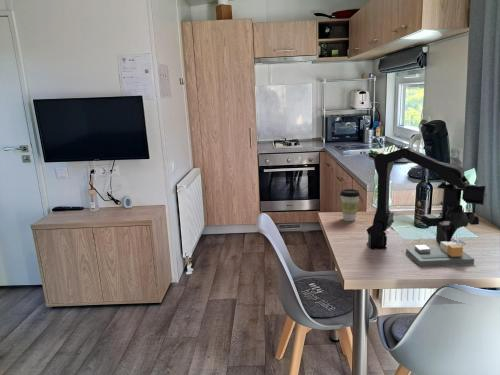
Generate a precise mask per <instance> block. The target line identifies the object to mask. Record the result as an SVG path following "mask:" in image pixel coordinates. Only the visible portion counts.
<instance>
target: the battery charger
mask: <svg viewBox="0 0 500 375" xmlns="http://www.w3.org/2000/svg"><path fill="white" fill-rule="evenodd" d="M438 217H441V216H440V215H438ZM445 220H446V219H445ZM435 240H436V241H438V242H443V241H446V240H445V237H444V234H443V232H442V229H441V227H440V225H438V226H436V234H435ZM450 241H451V242H453V241H452V239H451V240H450Z"/></svg>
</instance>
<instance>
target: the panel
mask: <svg viewBox="0 0 500 375" xmlns="http://www.w3.org/2000/svg"><path fill="white" fill-rule="evenodd" d="M429 248H430V253H421V254H419V253H418V252H417V251H416V250H415V247H412V248H411V247H410V248H406V250H405V254H406V255H407V256H408V257H409V258H410V259H412V260H413V261H414V262H415V263H416V264H417V265H418V266H419V267H429V266H430V267H431V266H432V267H433V266H435V267H436V266H454V265H455V266H459V265H461V266H462V265H474V263H475V258H473V257H472V256H470V255H469V254H467V253H466V252H465V251H463V253H462V256H456V257H451V256H450V255H449V254H447V253H445V252H444V251H442V250H441V249H440V246H436V247H435V246H434V247H433V246H432V247H429Z"/></svg>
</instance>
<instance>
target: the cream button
mask: <svg viewBox="0 0 500 375" xmlns="http://www.w3.org/2000/svg"><path fill="white" fill-rule="evenodd" d="M451 241H452V240H451ZM451 241H450V242H447V241H443V242H440V241H439V242H440V243H439V244H440V246H439V247H440V249H441V250H442V251H444V252H445V253H447V249H448V245H455V243H454V242H453V241H452V242H451Z"/></svg>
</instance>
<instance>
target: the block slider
mask: <svg viewBox="0 0 500 375" xmlns="http://www.w3.org/2000/svg"><path fill="white" fill-rule="evenodd" d="M454 244H455V243H454ZM463 252H464V247H463V246H462V245H461V244H457V243H456V244H455V245H448V249H447V254H449V255H450V256H451V257H456V256H462V253H463Z"/></svg>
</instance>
